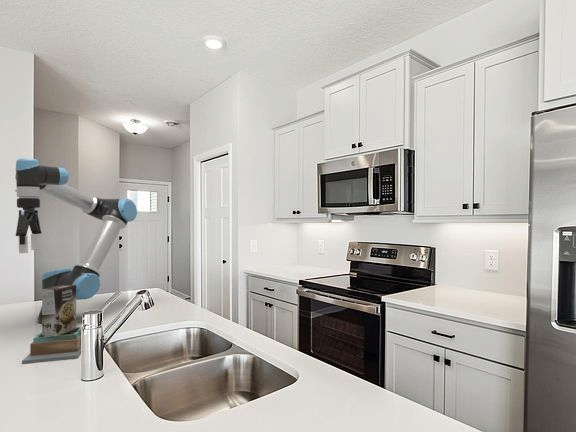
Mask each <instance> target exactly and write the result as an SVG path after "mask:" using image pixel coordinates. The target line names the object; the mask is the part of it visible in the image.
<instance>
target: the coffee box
mask: <svg viewBox="0 0 576 432" xmlns="http://www.w3.org/2000/svg"><path fill="white" fill-rule="evenodd" d="M41 291H42V293H41V294H42V295H41V296H42V297H41V301H42V302H41V307H42V323H41V332H42V335H46V336H59V335H61V334H64V333H67V332H69V331H72V330H74V329H76V327H77V300H76V285H60V286H55V287H51V288H46V289H42V288H41Z"/></svg>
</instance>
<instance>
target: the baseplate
mask: <svg viewBox="0 0 576 432" xmlns="http://www.w3.org/2000/svg"><path fill="white" fill-rule="evenodd" d="M81 354H82V353H81V347H80V349H79V350H78V351H77V352H67V353H57V354H47V355H36V356H30V353H29V354H27V356H26V357H24V358H23V359H22V361H21V364H22V365H25V364H26V365H27V364H35V363H44V362H57V361H65V360H74V359H78V358H79V357H80V356H81Z"/></svg>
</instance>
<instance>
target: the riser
mask: <svg viewBox="0 0 576 432" xmlns="http://www.w3.org/2000/svg"><path fill="white" fill-rule="evenodd" d="M81 327H82V326H76V329H74V330H72V331H69V332H67V333H64V334H61V335H59V336H46V335H42V331H41V332H39V333H38V334H37V335H36V336H34V337H33V339H32V341H31V343H30V345H29V346H30V347H29V348H30V350H29V351H30V353H29V354H30V356H36V355H47V354H57V353H67V352H77V351H78V350H79V349H80V347H81Z"/></svg>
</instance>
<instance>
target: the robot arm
mask: <svg viewBox="0 0 576 432" xmlns="http://www.w3.org/2000/svg"><path fill="white" fill-rule="evenodd" d="M14 178H15V183H16V184H15V185H16V189H14V192H15V193H16V197H17V199H16V207H17V208H18V217H17V218H18V219H17V225H16V232H15V237H18V254H29V237H28V236H29V235H28V230H29V228H30V231H31V234H30V250H31V251H37V250H40V234H42V231H41V230H42V229H41V225H40V219H39V210H37V209H38V208H41V199H40V197H41V192H43V194H44V193H45V194H47V195H49V196H51V197H53V198H55V199H57V200H60V201H62V202H65V203H67V204H69V205H71V206H73V207H76V208H78V209H79V210H81V211H82V212H83V213H84V214H86V215H88V216H89V217H90V216H91V217H93V218H94V219H98V220H100V221H102V224H101V226H100V227H99V228H98V231H97V233H96V234H95V236H94V238H93V240H92V241H91V244H90V245H89V247H88V248H87V250H86V252H85V254H84V256H83V257H82V259H81V261H80V263H78V264H75V265H74V266H73V268H72V269H71V268H63V269H57V270H56V269H55V270H49V271H45V272H43V274H42V277H41V287H42V288H41V290H42V289H46V288H51V287H55V286H60V285H76V301H77V300H78V301H79V300H80V301H82V300H89V299H92V298H93V297H94V296H95V295H96V294H97V293H98V292H99V289H100V287H101V283H100V282H101V279H100V276H101V274H100V269H101V267H102V265H103V263H104V262H105V260H106V258H107V255H108V253H109V252H110V250H111V249H112V247H113V244H114V242H115V240H116V238H117V236H118V235H119V234H120V232H121V230H122V229H125V228H126V227H127V225H128V223H129V222H133V221H134V220H135V219H136V218H137V215H138V209H137V206H136V204H135V203H134V201H133V200H132V199H130V198H123V197H120V198H99V197H97V196H95V195H91V196H90V195H88V194H86V193H84V192H82V191H79V190H78V189H76V188H74V187H72V186H70V185H68V184H67V183H68V181H69V172H68V170H67V169H66V168H63V167H60V166H49V165H48V166H47V165H41V164H40V162H39V160H38V159H35V158H26V157H24V158H18V159H16V161H15V177H14ZM37 315H38V316H37V323H38V324H42V306H41V307H40V310H39V313H38V314H37Z"/></svg>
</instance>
